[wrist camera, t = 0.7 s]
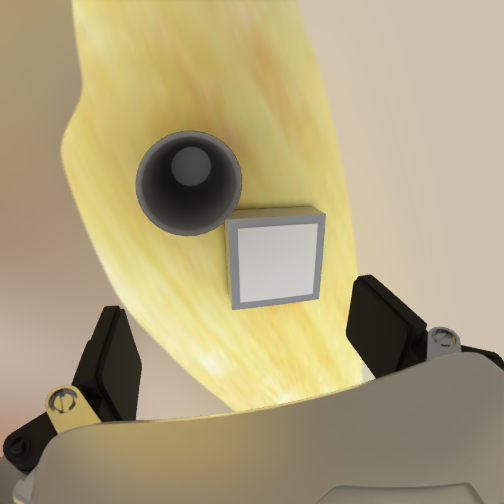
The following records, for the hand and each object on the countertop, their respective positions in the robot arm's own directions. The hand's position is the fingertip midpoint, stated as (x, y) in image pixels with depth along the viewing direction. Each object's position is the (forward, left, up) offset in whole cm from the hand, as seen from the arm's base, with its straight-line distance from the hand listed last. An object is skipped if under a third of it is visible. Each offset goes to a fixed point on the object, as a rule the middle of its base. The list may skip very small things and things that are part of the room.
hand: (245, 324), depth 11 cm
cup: (-4, -2, -24) cm, 25 cm away
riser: (+7, +7, -24) cm, 26 cm away
